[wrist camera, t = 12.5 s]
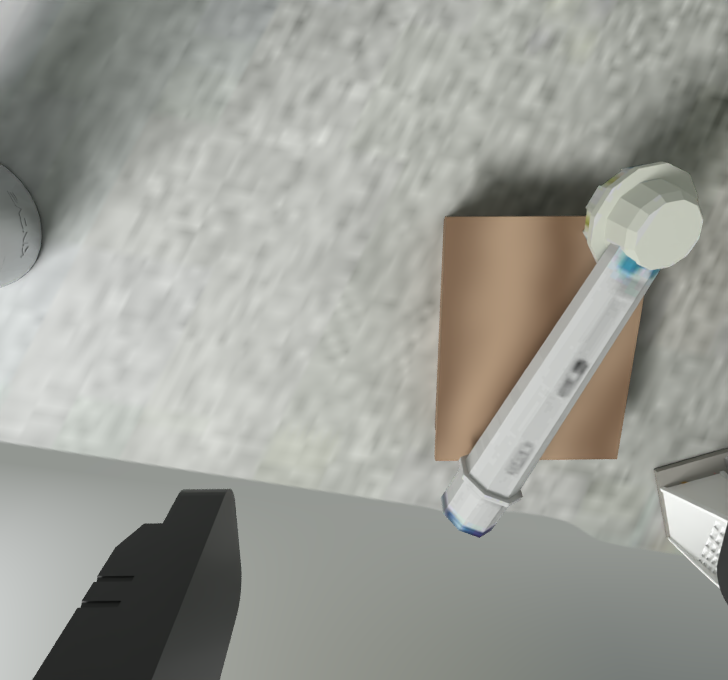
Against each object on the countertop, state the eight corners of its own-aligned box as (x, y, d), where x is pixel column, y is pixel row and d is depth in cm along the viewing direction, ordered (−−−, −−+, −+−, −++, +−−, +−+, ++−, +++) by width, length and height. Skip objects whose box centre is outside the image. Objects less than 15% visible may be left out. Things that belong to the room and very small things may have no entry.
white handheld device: (434, 525, 35) (673, 157, 25) (427, 460, 41) (617, 143, 31) (505, 550, 36) (766, 202, 25) (488, 482, 42) (693, 180, 31)
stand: (428, 433, 42) (435, 460, 38) (436, 211, 36) (446, 217, 33) (593, 432, 42) (616, 459, 38) (625, 210, 36) (657, 216, 33)
